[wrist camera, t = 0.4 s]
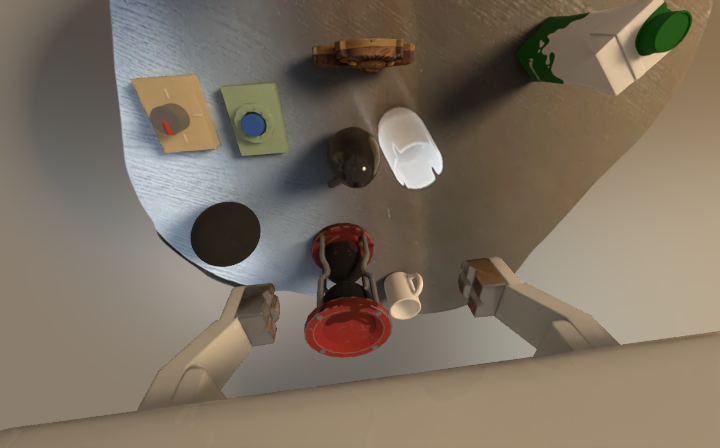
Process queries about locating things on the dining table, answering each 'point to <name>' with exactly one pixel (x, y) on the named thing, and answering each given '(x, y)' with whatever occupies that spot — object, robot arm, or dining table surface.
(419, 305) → the mug
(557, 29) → the milk carton
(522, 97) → the dining table surface
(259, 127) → the button
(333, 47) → the wooden carving
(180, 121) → the dial
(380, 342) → the hourglass
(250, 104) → the button housing
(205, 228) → the decorative egg
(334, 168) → the pump dispenser
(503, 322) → the robot arm
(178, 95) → the dial panel
